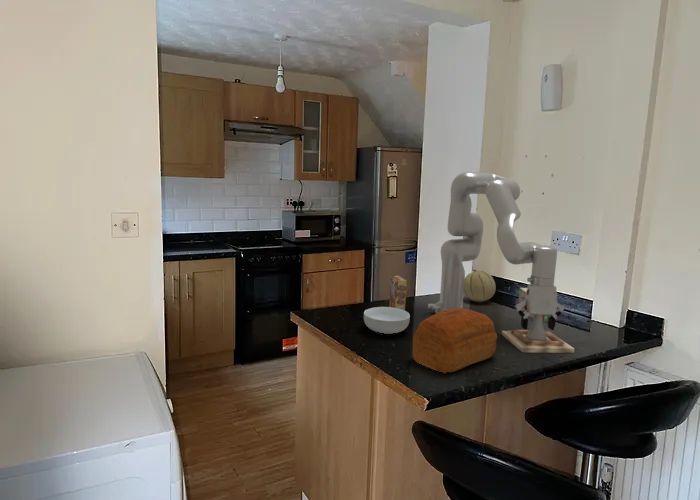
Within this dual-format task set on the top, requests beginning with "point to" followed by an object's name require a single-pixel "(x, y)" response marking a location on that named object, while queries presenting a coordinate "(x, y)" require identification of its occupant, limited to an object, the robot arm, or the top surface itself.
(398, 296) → the candy box
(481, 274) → the cantaloupe
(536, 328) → the flask
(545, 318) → the stack of blocks
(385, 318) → the cereal bowl
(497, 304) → the top surface
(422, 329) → the bread
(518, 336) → the board
